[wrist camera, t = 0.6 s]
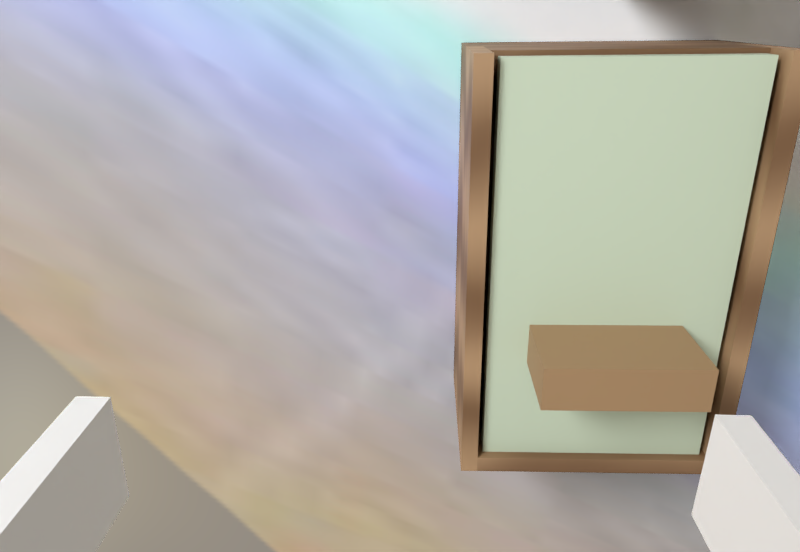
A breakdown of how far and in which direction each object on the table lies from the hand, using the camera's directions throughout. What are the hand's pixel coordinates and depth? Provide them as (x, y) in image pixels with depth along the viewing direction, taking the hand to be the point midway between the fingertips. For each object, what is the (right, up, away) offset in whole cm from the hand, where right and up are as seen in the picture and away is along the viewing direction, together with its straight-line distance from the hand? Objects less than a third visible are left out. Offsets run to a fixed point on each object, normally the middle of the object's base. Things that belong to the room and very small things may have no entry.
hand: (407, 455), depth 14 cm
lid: (+9, +4, +16) cm, 19 cm away
